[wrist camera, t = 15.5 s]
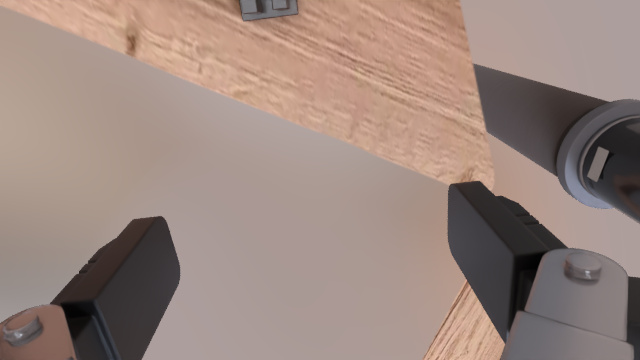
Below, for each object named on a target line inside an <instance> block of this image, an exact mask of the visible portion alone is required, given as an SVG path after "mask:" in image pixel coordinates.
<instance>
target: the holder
mask: <svg viewBox="0 0 640 360" xmlns="http://www.w3.org/2000/svg"><path fill="white" fill-rule="evenodd" d="M239 2H240V8H241V13H242V19H243V21H250V20H258V19H266V18H273V17H281V16H289V15H296V14H299V13H298V6H297V0H239Z"/></svg>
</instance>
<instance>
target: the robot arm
mask: <svg viewBox="0 0 640 360" xmlns="http://www.w3.org/2000/svg"><path fill="white" fill-rule="evenodd" d="M577 174H578V179H579V181H580V184H581V185H582V187H583V188H584V189H585V190H586V191H587V192H588V193H589V194H591V195H593V196H594V197H596V198H598V199H601V200H603V201H604V202H606V203H607V204H609V205H611V206H612V207H614V208H615V209H617V210H618V211H620V212H622V213H623V214H625V215H627V216H628V217H630V218H631V219H633V220H634V221H636V222H637V223H639V224H640V115H629V116H624V117H620V118H618V119H615V120H613V121H611V122H609V123H607V124H606V125H604V126H603V127H601V128H600V129H599V130H598V131H596V132H595V133H594V134H593V135H592V136H591V138H590V139H589V140H588V141H587V143H586V144H585V146H584V147H583V149H582V151H581V154H580V156H579V160H578V165H577ZM448 242H449V247H450V250H451V253H452V255H453V257H454V259H455V261H456V262H457V264H458V265H459V267H460V269H461V271H462V272H463V274H464V275H465V277H466V279H467V281H468V282H469V284H470V286H471V288H472V289H473V291H474V293H475V294H476V296H477V298H478V299H479V301H480V303H481V304H482V306H483V308H484V309H485V311H486V313H487V314H488V316H489V318H490V319H491V321H492V323H493V324H494V326H495V328H496V330H497V331H498V333H499V335H500V336H501V338H502V340H503V341H504V343H505V347H504V350H503V353H502V355H501V358H500V360H640V278H636V277H629V276H628V275H627V273H626V271H625V270H624V269H623V267H621V266H620V265H619V264H618V263H617V262H615V261H614V260H612V259H610V258H608V257H606V256H603V255H601V254H598V253H595V252H592V251H588V250H583V249H574V248H568V247H566V246H565V245H564V244H563V243H562V242H561V241H560V240H559V239H558V238H556V237H555V236H554V235H553V234H552V233H551V232H550V231H549V230H547V229H546V228H545V227H544V226H543V225H542V224H539V221H538V220H536V219H535V218H534V217H533V216H532V215H530V214H529V212H527V211H526V210H525V209H524V208H523V207H522V206H521V205H519V203H516V202H514V201H512V200H510V199H507V198H505V197H503V196H495V195H494V194H493V193H492V192H491V191H490V190H488V189H487V188H486V187H485V186H484V185H483V184H482V183H481V182H480V181H472V182H463V183H454V184H451V185H450V186H449V191H448ZM179 280H180V265H179V261H178V257H177V254H176V251H175V247H174V244H173V241H172V238H171V235H170V231H169V228H168V225H167V222H166V220H165V219H164V218H163V217H162V216H158V217H149V218H140V219H134V220H132V221H131V222H130V223H129V224H128V226H127V227H126V228H125V229H124V230H123V231H122V232H121V234H120V235H119V236H118V237H117V238H116V239H114V240H112V241H111V242H109V243H108V244H106V245H105V246H103V247H102V248H100V249H99V250H98V251H97V252H96V253H95V254H94V255H93V257H92V258H91V259H90V260H89V261H88V264H85V265H84V267H83V268H82V269H81V270H80V271H79V274H77V275H75V276H74V278H73V279H72V280H71V281H70V282H69V283H68V284H67V285H66V286H65V288H64V289H63V290H62V291H61V292H60V293H59V294H58V295H57V296H56V297H55V299H54V300H53V301H52V302H51V303H50V304H47V305H41V306H36V307H32V308H29V309H26V310H24V311H21V312H19V313H17V314H15V315H13V316H11V317H9V318H8V319H6V320H4V321H3V322H1V323H0V360H142V358H143V355H144V353H145V351H146V349H147V347H148V345H149V343H150V341H151V339H152V337H153V335H154V333H155V331H156V329H157V327H158V325H159V323H160V321H161V318H162V317H163V315H164V313H165V311H166V309H167V307H168V305H169V303H170V301H171V299H172V296H173V295H174V292H175V290H176V288H177V286H178V284H179Z"/></svg>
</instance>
